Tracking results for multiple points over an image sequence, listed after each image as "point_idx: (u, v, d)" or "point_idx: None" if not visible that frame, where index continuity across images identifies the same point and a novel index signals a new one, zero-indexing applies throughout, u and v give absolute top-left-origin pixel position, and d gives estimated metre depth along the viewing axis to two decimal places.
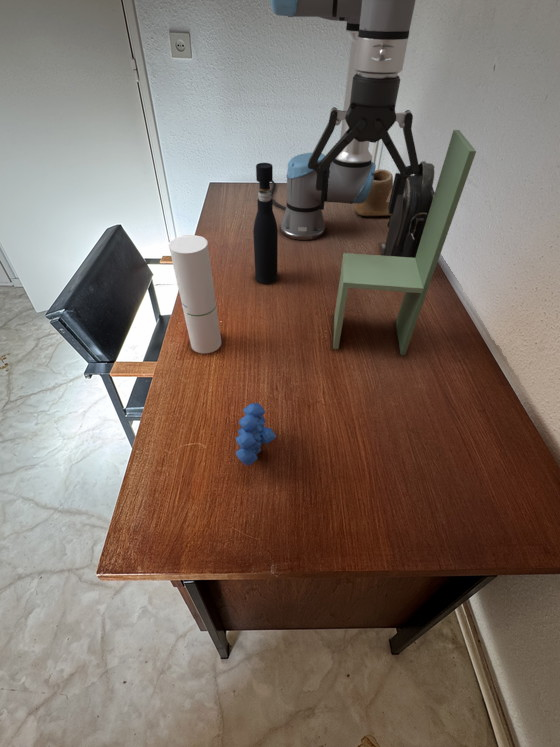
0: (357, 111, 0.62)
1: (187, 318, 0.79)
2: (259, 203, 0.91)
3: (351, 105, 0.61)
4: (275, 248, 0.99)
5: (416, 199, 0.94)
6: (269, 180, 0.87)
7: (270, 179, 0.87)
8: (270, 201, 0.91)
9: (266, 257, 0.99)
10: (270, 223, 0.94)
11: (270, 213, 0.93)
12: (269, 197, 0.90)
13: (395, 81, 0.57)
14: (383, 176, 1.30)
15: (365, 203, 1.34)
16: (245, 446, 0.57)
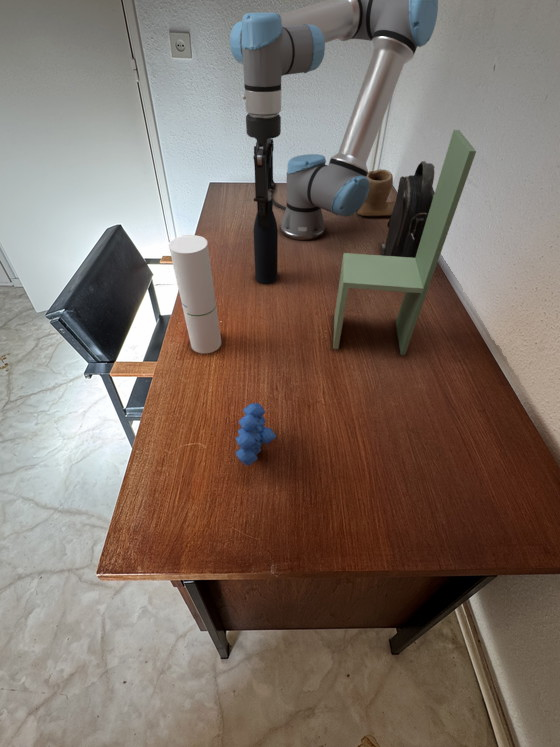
0: None
1: (187, 318, 0.79)
2: None
3: None
4: (275, 248, 0.99)
5: (416, 199, 0.94)
6: (269, 180, 0.87)
7: (270, 179, 0.87)
8: (270, 201, 0.91)
9: (266, 257, 0.99)
10: (270, 223, 0.94)
11: (270, 213, 0.93)
12: (269, 197, 0.90)
13: (250, 119, 0.77)
14: (383, 176, 1.30)
15: (365, 203, 1.34)
16: (245, 446, 0.57)
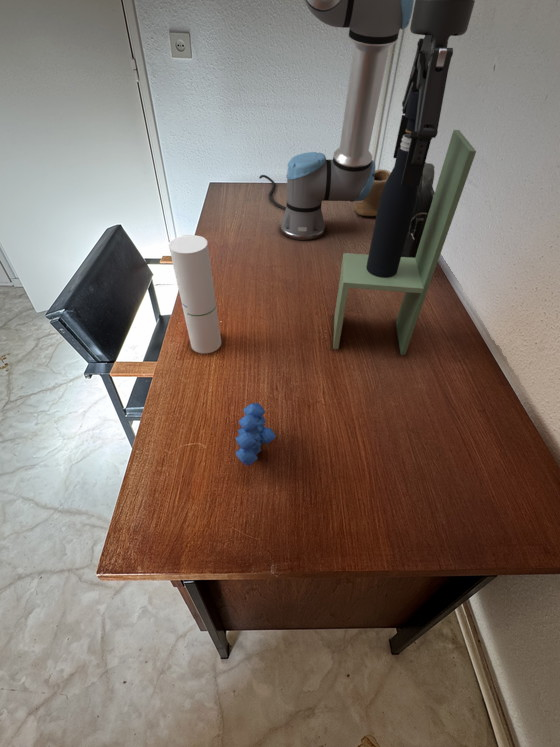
0: (424, 41, 0.53)
1: (187, 318, 0.79)
2: (402, 155, 0.61)
3: None
4: (409, 225, 0.69)
5: None
6: None
7: None
8: None
9: (395, 239, 0.69)
10: (413, 186, 0.63)
11: None
12: None
13: (429, 0, 0.47)
14: (383, 176, 1.30)
15: (365, 203, 1.34)
16: (245, 446, 0.57)
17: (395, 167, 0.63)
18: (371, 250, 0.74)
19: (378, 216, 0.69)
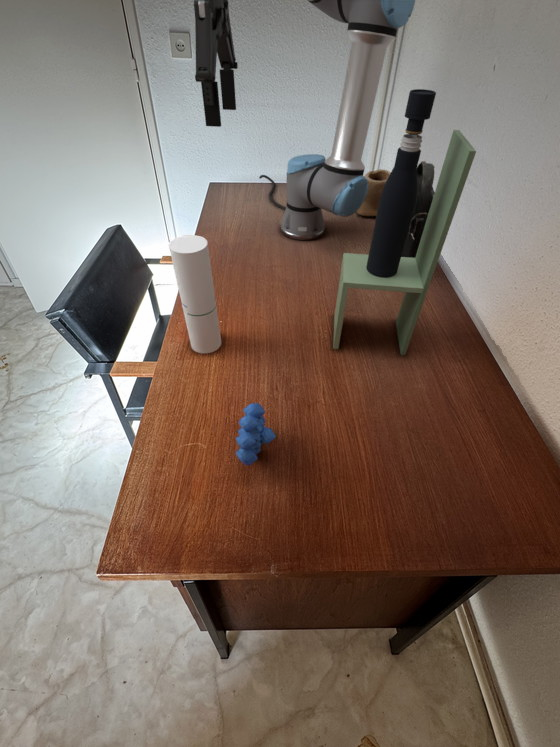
0: None
1: (187, 318, 0.79)
2: (402, 155, 0.61)
3: None
4: (408, 225, 0.69)
5: (416, 199, 0.94)
6: (428, 116, 0.57)
7: (429, 114, 0.57)
8: (419, 151, 0.61)
9: (395, 239, 0.69)
10: (412, 186, 0.63)
11: (415, 171, 0.62)
12: (419, 145, 0.60)
13: None
14: (383, 176, 1.30)
15: (365, 203, 1.34)
16: (245, 446, 0.57)
17: (395, 167, 0.63)
18: (371, 250, 0.74)
19: (378, 216, 0.69)
